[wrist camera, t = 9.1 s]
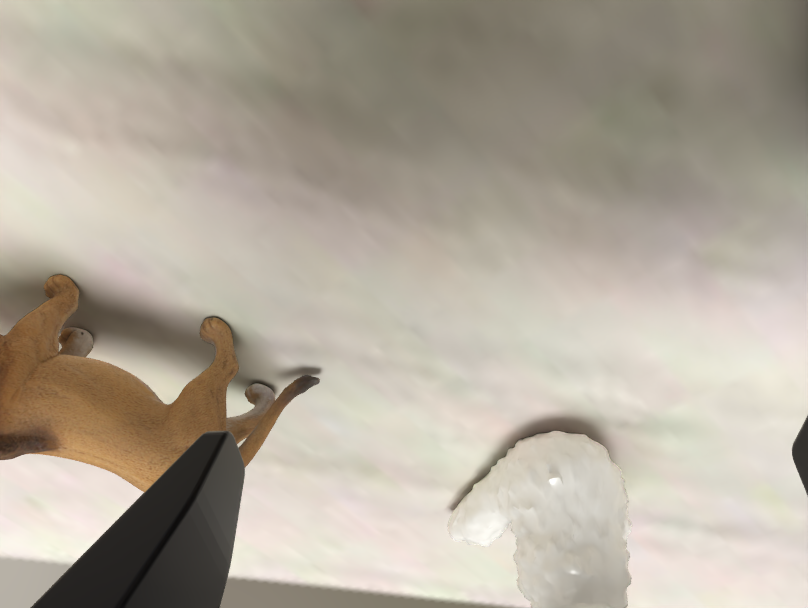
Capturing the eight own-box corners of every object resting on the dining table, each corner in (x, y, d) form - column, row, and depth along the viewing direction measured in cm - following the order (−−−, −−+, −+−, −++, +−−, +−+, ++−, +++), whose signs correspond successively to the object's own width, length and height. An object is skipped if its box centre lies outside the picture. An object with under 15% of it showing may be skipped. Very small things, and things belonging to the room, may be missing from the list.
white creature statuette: (445, 516, 31) (458, 798, 21) (459, 408, 26) (483, 715, 16) (615, 522, 31) (705, 807, 21) (662, 416, 26) (810, 727, 16)
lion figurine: (-20, 349, 24) (-208, 542, 17) (-49, 247, 21) (-294, 429, 14) (313, 409, 26) (273, 606, 19) (331, 322, 23) (291, 519, 16)
